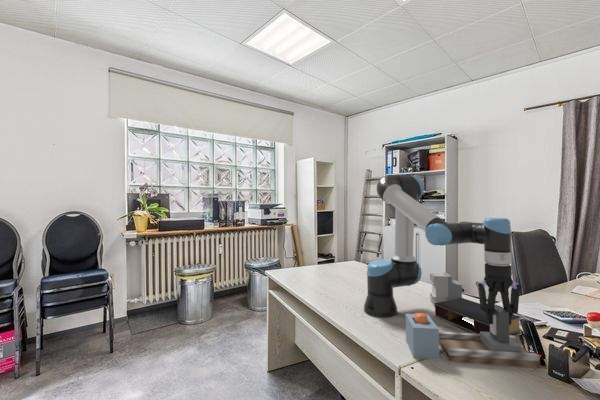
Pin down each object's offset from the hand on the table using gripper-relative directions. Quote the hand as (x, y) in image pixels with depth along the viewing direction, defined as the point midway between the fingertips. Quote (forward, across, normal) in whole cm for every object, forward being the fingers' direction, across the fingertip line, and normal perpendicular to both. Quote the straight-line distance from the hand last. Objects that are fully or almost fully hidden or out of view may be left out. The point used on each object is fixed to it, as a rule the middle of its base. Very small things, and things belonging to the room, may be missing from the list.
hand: (499, 333), depth 96 cm
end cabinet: (+7, -25, 0) cm, 26 cm away
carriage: (+5, 0, 0) cm, 5 cm away
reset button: (-1, -25, 0) cm, 25 cm away
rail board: (+7, -5, 0) cm, 9 cm away
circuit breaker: (+7, -1, +47) cm, 48 cm away
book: (+8, +2, +24) cm, 25 cm away
